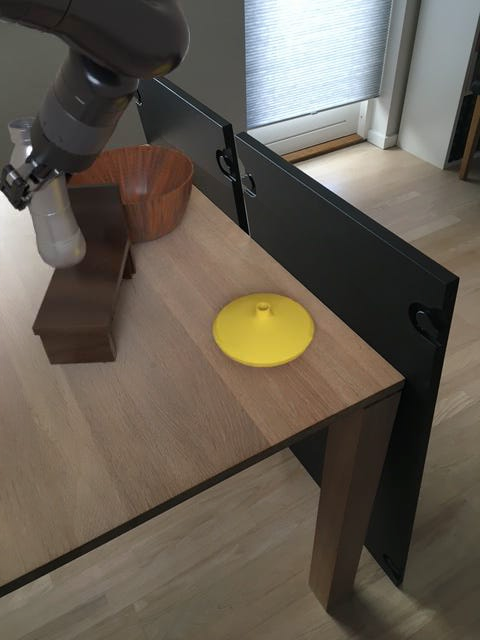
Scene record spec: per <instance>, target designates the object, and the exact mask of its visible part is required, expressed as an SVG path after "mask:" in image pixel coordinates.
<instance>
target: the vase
mask: <svg viewBox="0 0 480 640" xmlns="http://www.w3.org/2000/svg"><path fill="white" fill-rule="evenodd" d="M314 333H315V324H314V320H313V318H312V316H311V315H310V313H309V312H308V310H307V309H305V308H304V307H303V306H302V305H301V304H300V303H298V302H297V301H295V300H293V299H291V298H290V297H287V296H283V295H282V294H275V293H268V292H267V293H266V292H265V293H252V294H248V295H243V296H241V297H238V298H235V299H234V300H232V301H231V302H229V303H228V304H226V305H225V306H224V307H223V308H222V309H221V310H220V311H219V312H218V313H217V315H216V316H215V319H214V320H213V323H212V334H213V338H214V341H215V344H216V345H217V346H218V347H219V349H220V350H221V352H222V353H223V354H224V355H226V356H227V358H230V359H231V360H232V361H234V362H236V363H240V364H242V365H244V366H248V367H249V366H250V367H255V368H272V367H277V366H281V365H284V364H287V363H290V362H291V361H294V360H296V359H297V358H298V357H300V356H301V355H302V354H304V352H305V351H306V350H307V348H308V347H309V346H310V344H311V341H313V338H314Z"/></svg>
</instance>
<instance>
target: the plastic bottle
mask: <svg viewBox="0 0 480 640" xmlns="http://www.w3.org/2000/svg"><path fill="white" fill-rule="evenodd" d="M34 120H35V117H29V116H27V117H21V118H16V119H13V120H12V121H10V122H8V124H7V129H8V132H9V134H10V140H11V143H13V144H15V145H14V147H13V151H12V153H11V155H10V161H9V164H11V165H12V166H13V167H14V168H15V169H17V168H19V167H20V166H21V165H22V164H23V163H24V162H25V160H26V158H27V157H28V156H29V155H30V152H31V151H32V145H31V139H30V131H31V127H32V124H33V122H34ZM36 177H37V176H36ZM37 178H38V177H37ZM38 180H39V181H40V182H41V181H42V180H43V179H40V178H38ZM26 183H27V182H26ZM27 184H28V183H27ZM26 188H27V190H28V189H29V188H30V186H29V184H28V185H27V186H26ZM26 208H28V212H29V214H30V217H31V221H32V226H33V230H34V234H35V242H36V243H35V244H36V249H37V253H38V254H39V256H40V258H41V260H42V262H43V263H45V264H46V265H47V266H49V267H51V268H52V269H53V268H54V269H55V268H61V269H62V268H69V267H72V266H74V265H76V264H78V263H80V262H81V261H82V260H83V258H84V256H85V253H86V242H85V239H84V237H83V234H82V232H81V230H80V228H79V227H78V225H77V222H76V219H75V217H74V214H73V212H72V209H71V206H70V201H69V197H68V192H67V186H66V178H65V172H64V173H63V174H62V175H61V176H60V177H59V178H56V179H54V180H53V181H52V182H51V183H50V184H49V185H48V186H47V187H46V188H45V189H44V190H42V191H39V192H35V193H34V194H33V195H32V196H31V199H30V201H29V202H28V204H27V206H26Z"/></svg>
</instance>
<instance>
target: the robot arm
mask: <svg viewBox="0 0 480 640" xmlns="http://www.w3.org/2000/svg"><path fill="white" fill-rule="evenodd" d="M0 23H3V24H6V25H10V26H13V27H18V28H20V29H24V30H29V31H33V32H37V33H40V34H45V35H50V36H52V37H54V38H56V39H57V40H59V41H61V42H62V43H63V44H65V45H66V46H67V50H66V53H65V54H64V57H63V59H62V62H61V63H60V66H59V68H58V71H57V73H56V75H55V78H54V79H53V80H52V81H51V83H50V85H49V86H48V87H47V90H46V92H45V94H44V96H43V99H42V101H41V104H40V106H39V108H38V111H37V112H36V115H35V117H34V118H35V120H34V122H33V124H32V127H31V131H30V139H31V145H32V151H31V152H30V155H29V156H28V157H27V158H26V160H25V162H24V163H23V164H22V165H21V166H20V167H19V168H17V169H15V168H14V167H13V166H12V165H11V164H10V163H9V164H7V165H4V167H3V168H2V170H1V175H0V192H1V193H2V194H3V195H4V197H5V198H6V199H7V201H8V202H9V203H10V205H11V206H12V207H13V208H14V210H17V211H18V212H22V211H24V210H26V208H27V204H28V202H29V201H30V199H31V196H32V195H33V194H34V193H35V192H39V191H42V190H44V189H45V188H46V187H47V186H48V185H49V184H50V183H51V182H52V181H53V180H54V179H56V178H59V177H60V176H61V175H62V174H63V173H64V172H65V178H66V186H67V184H68V183H69V181H70V179H71V178H72V176H74V175H77V174H78V173H79V172H82V171H85V170H87V169H88V168H90V167H91V166H92V165H93V163H94V162H95V160H96V159H97V157H98V156H99V154H100V153H101V152H103V150H104V148H105V146H107V143H108V142H109V140H110V139H111V137H112V136H113V134H114V133H115V130H116V129H117V126H118V123H119V121H120V119H121V117H122V116H123V114H124V113H125V111H126V110H127V108H128V106H129V105H130V103H131V102H132V100H133V98H134V97H135V95H136V93H137V91H138V87H139V84H140V80H152V79H158V78H162V77H165V76H166V75H169V74H170V73H172V72H173V71H175V70H176V69H177V68H178V67H179V66H180V65H181V64H182V63H183V61H184V59H185V57H186V56H187V54H188V51H189V47H190V42H191V35H190V27H189V24H188V21H187V18H186V15H185V13H184V11H183V8H182V7H181V5H180V1H179V0H0ZM36 176H37V177H38V178H40V179H43V180H42V181H41V182H40V181H39V180H38V178H37V177H36ZM26 182H27V183H28V184H29V186H30V188H29V189H28V190H27V188H26V186H27V185H28V184H27V183H26Z"/></svg>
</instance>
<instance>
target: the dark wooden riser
mask: <svg viewBox="0 0 480 640" xmlns="http://www.w3.org/2000/svg"><path fill="white" fill-rule="evenodd" d="M67 192H68V197H69V201H70V206H71V209H72V212H73V214H74V217H75V219H76V222H77V225H78V227H79V228H80V230H81V232H82V234H83V237H84V239H85V242H86V253H85V256H84V258H83V260H82V261H81V262H80V263H78V264H76V265H74V266H72V267H69V268H62V269H61V268H54V271H53V273H52V275H51V278H50V280H49V283H48V286H47V289H46V291H45V293H44V296H43V298H42V301H41V304H40V305H39V308H38V311H37V314H36V316H35V319H34V321H33V324H32V327H31V329H32V332H33V334H34V336H39V339H40V341H41V344H42V347H43V349H44V351H45V355H46V357H47V359H48V362H49V364H50V365H71V364H93V363H94V364H96V363H98V364H99V363H115V362H116V358H117V352H116V349H115V345H114V341H113V338H112V334H111V327H112V322H113V318H114V314H115V310H116V305H117V301H118V297H119V292H120V287H121V284H122V280H132V279H133V276H134V275H136V274H137V266H136V261H135V256H134V252H133V246H132V243H131V241H130V237H129V232H128V227H127V222H126V217H125V212H124V208H123V203H122V198H121V193H120V188H119V183H97V184H75V185H67Z"/></svg>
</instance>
